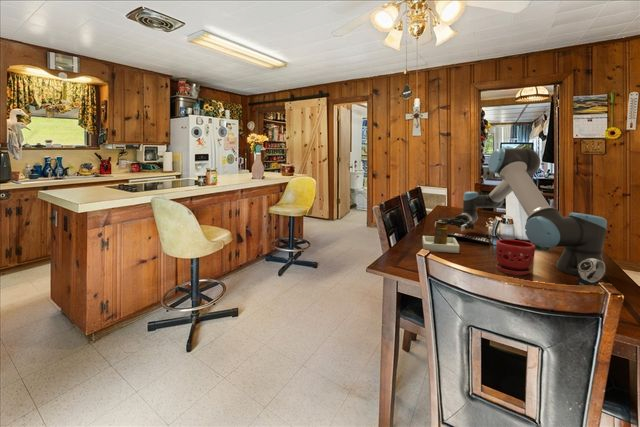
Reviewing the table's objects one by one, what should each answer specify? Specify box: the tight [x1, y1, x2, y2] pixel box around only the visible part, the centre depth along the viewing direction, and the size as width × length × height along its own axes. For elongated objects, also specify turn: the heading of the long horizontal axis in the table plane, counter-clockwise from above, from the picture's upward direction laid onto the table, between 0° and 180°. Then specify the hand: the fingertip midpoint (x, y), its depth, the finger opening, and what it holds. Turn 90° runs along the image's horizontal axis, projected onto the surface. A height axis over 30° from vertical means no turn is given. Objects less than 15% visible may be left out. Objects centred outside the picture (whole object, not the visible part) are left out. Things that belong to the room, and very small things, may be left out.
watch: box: [576, 258, 606, 286], centre depth 108 cm, size 6×8×11 cm
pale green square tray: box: [421, 235, 460, 254], centre depth 159 cm, size 16×16×4 cm
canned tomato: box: [530, 242, 551, 252], centre depth 156 cm, size 8×8×11 cm
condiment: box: [431, 221, 449, 245], centre depth 159 cm, size 7×8×12 cm
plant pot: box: [495, 238, 536, 276], centre depth 126 cm, size 13×13×12 cm
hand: (448, 226), depth 165 cm, fingers open, 13 cm apart
